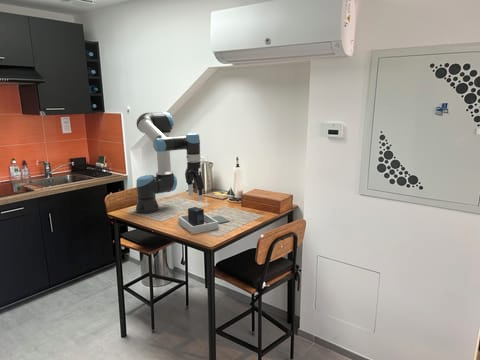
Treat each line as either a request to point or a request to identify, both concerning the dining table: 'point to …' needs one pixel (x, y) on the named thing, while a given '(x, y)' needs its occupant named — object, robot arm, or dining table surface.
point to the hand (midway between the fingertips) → (195, 197)
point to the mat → (220, 219)
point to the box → (196, 216)
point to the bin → (209, 226)
